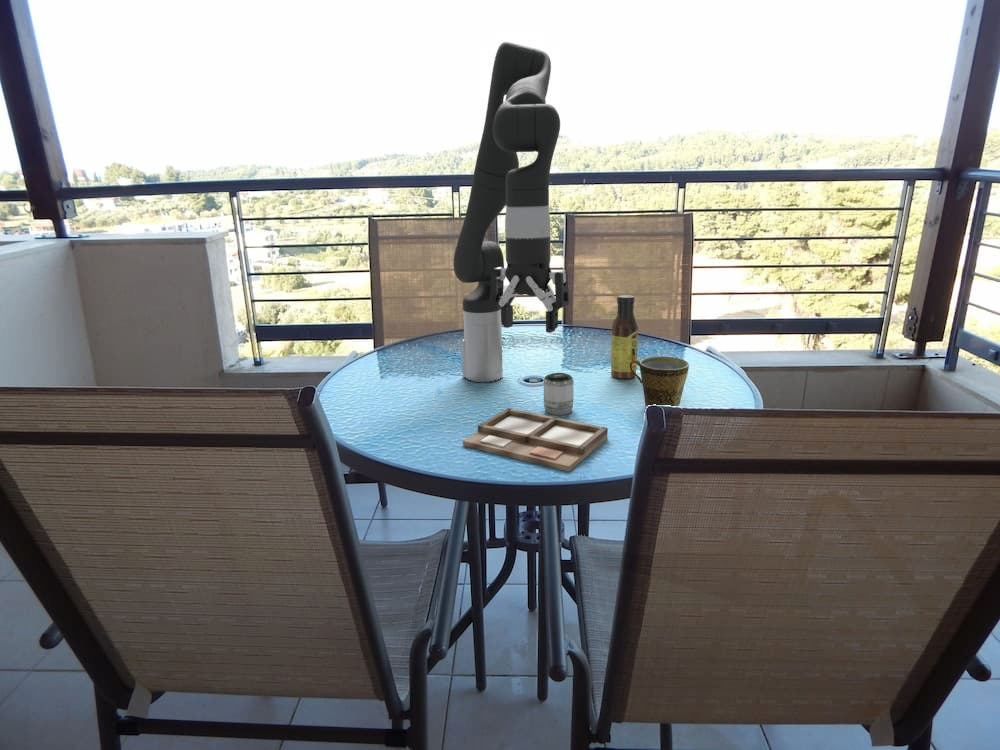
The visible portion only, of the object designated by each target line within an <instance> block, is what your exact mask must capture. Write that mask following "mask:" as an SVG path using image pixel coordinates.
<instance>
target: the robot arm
mask: <svg viewBox="0 0 1000 750" xmlns="http://www.w3.org/2000/svg"><path fill="white" fill-rule="evenodd" d="M551 72H552V61H551V59H550V56H549V54H548V53H547V52H545V51H544V50H541V49H539V48H533V47H531V46H530V47H529V46H526V45H523V44H518V43H514V42H509V41H504V42H502V43H500V45H499V46H498V48H497V51H496V54H495V57H494V62H493V66H492V73H491V79H490V84H489V85H490V87H489V92H488V100H487V107H486V114H485V120H484V127H483V130H482V133H481V134H482V136H481V139H480V144H479V148H478V152H477V157H476V161H475V165H474V170H473V177H472V183H471V188H470V189H471V190H470V193H469V194H470V195H469V198H468V201H467V202H468V203H467V207H466V210H465V211H466V212H465V217H464V220H463V223H462V227H461V230H460V233H459V237H458V240H457V243H456V247H455V251H454V255H453V271H454V274H455V276H456V278H457V279H458V280H459V282H461V283H466V284H471V283H473V284H474V283H477V286H476V288H475V289H474V290H473V291H472V292H470V293H469V294H467V295H466V296H464V298H463V300H462V314H463V316H462V317H463V318H462V319H463V337H464V338H463V339H461V341H460V345H461V346H460V348H461V367H462V369H461V370H462V372H461V373H462V378H465V377H466V378H465V379H467V380H469V381H470V380H471V382H476V383H490V381H491V382H495V380H496V381H499V380H500V378H501V379H502V378H503V377H504V376H503V374H504V372H503V371H504V369H503V337H502V335H503V332H502V331H503V328H505V329H506V328H507V329H509V328H511V327H513V325H514V307H513V306H514V305H511V304H512V303H513V302H514V300H515V299H516V297H517V296H524V295H525V296H528V297H534V296H536V297H537V299H538V301H540V302H542V304H543V306H544V307H545V308H546V311H545V332H546V333H550V334H551V333H554V332H555V330H556V329H558V327H559V310H560V309H563V308H564V307H568V306H569V305H570V297H569V296H570V295H569V294H570V293H569V273H568V271H567V270H565V269H564V270H561V271H552V270H551V267H550V263H551V214H550V173H551V166H552V162H553V156H554V153H555V150H556V146H557V143H558V139H559V135H560V130H561V120H560V115H559V113H558V111H557V109H556V108H555V107H554V106H553V105H551V104H550V103H549V104H548V103H547V101H546V98H547V97H546V96H547V94H548V89H549V83H550V80H551V79H550V77H551ZM504 98H505V99H504ZM504 100H505V101H504ZM527 152H528V153H532V152H533V153H534V152H537V156H536V157H535V158H536V159H535V160H534V161H533V162H532V163H531V164H528V165H525V166H521V167H520V163H519V162H520V161H519V157H518V153H527ZM504 208H505V209H506V210H505V217H504V218H505V220H504V223H505V224H504V231H505V232H504V233H505V234H504V235H505V236H504V237H505V259H504V254H503V250H502V248H501V246H500V245H499V244H498V243H497V242H495V241H494V240H493V241H492V240H491V241H490V240H485V237H486V234H487V232H488V230H489V228H490V227H491V226H492V224H493V223H494V221H495V219H496V218H497V217H498V216H499V215H500V213H502V211H503V210H504ZM505 262H506V264H507V265H506V268H505ZM506 279H507V281H508V282H509V284H508V285H507V287H506V288H505V289H504V281H505V280H506ZM550 281H552V284H553V285H554V291H555V292H554V291H553V289H552V287H551V286H550V285H549V283H550ZM502 325H503V328H502ZM502 376H503V377H502ZM498 379H499V380H498Z"/></svg>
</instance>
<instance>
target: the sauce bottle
mask: <svg viewBox="0 0 1000 750" xmlns="http://www.w3.org/2000/svg"><path fill="white" fill-rule="evenodd" d="M616 299H617V300H616V302H617V315H616V317H615V319H614V320H613V322H612V327H611V328H612V330H611V332H612V334H611V349H610V350H611V351H610V355H611V356H610V370H611V372H610V374H611V376H612V377H613V378H615V379H623V380H625V379H626V380H630V379H632V378H635V377H636V376H635V375H634V374H633V373H632V372H631V370H630V363H631V362H632V361H634V360H638V346H639V345H638V343H639V342H638V339H639V327H638V324H637V321H636V318H635V315H634V314H635V313H634V304H635V296H634V295H629V294H622V295H617V297H616ZM637 367H638V365H637V364H636V363H633V364H632V369H633V370H634V372H635V373H636V374H637V370H638V369H637Z"/></svg>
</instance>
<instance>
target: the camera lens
mask: <svg viewBox="0 0 1000 750" xmlns="http://www.w3.org/2000/svg"><path fill="white" fill-rule="evenodd" d="M574 382H575V381H574V378H573V376H572V375H570V374H567V373H565V372H553V373H549V374H547V375H546V376H545V377H544V378H543V405H544V406H543V407H544V409H545V410H544V411H545V412H546V413H547V414H550V415H554V416H564V415H569V414H570V413H572V410H573V407H574V384H575V383H574Z"/></svg>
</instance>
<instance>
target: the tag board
mask: <svg viewBox="0 0 1000 750" xmlns="http://www.w3.org/2000/svg"><path fill="white" fill-rule="evenodd" d="M608 430H609V429H608V427H606V426H600V425H595V424H590V423H584V422H580V421H575V420H569V419H565V418H559V417H555V416H549V415H544V414H539V413H536V412H530V411H529V412H528V411H526V410H525V411H524V410H520V409H515V408H509V407H508V408H505V409H504V410H502V411H500V412H499V413H497V414H496V415H494V416H492V417H490V418H488V419H487V420H485V421H484V422H482V423H480V424H478V425H477V431H476V432H475V433H473V434H472V435H470V436H468V437H467V438H464V439H463V440H462V446H464V447H468V448H472V449H474V450H475V449H476V450H479V451H484V452H488V453H490V454H496V455H499V456H504V457H508V458H512V459H516V460H521V461H524V462H529V463H532V464H536V465H540V466H545V467H548V468H549V467H550V468H552V469H557V470H561V471H566V472H568V473H569V472H571V471H572V470H573V469H575V468H576V467H577V466H578V465H580V463H582V462H583V460H584V459H586V458H587V457H588V456H589V455H591V453H593V452H594V451H595V450H596V449H597V448H598V447H600V446H601V445H602V444H603V443H604V442H606V440H608Z"/></svg>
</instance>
